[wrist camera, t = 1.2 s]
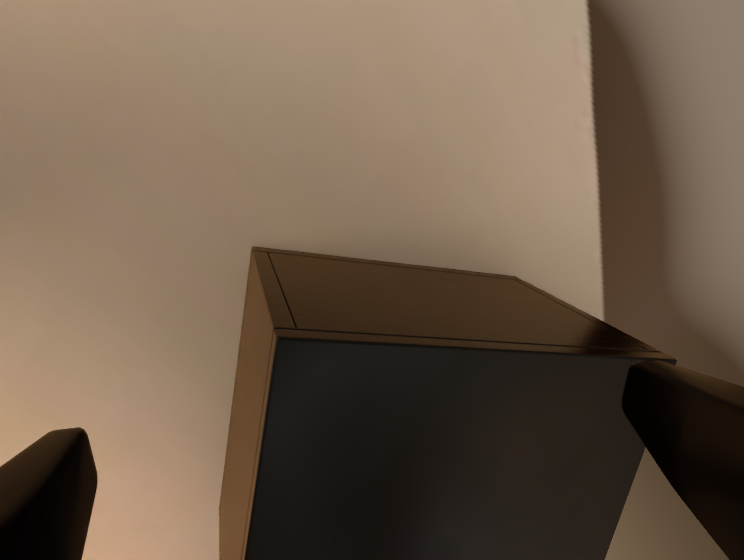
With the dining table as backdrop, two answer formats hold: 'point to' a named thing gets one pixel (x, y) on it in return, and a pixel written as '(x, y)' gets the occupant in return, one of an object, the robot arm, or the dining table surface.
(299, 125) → the dining table surface
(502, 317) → the black open cubby
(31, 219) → the dining table surface
